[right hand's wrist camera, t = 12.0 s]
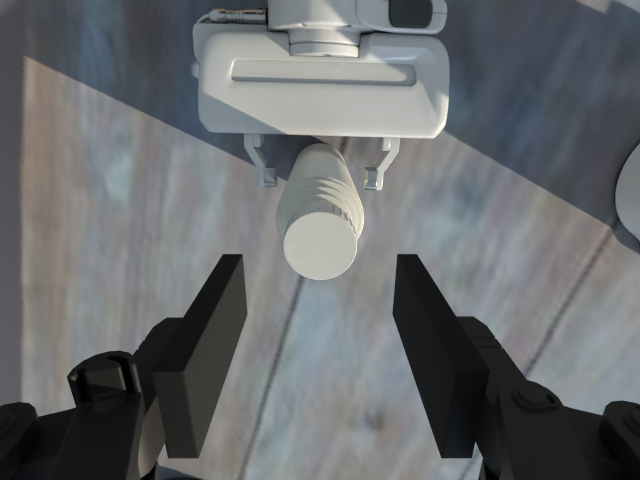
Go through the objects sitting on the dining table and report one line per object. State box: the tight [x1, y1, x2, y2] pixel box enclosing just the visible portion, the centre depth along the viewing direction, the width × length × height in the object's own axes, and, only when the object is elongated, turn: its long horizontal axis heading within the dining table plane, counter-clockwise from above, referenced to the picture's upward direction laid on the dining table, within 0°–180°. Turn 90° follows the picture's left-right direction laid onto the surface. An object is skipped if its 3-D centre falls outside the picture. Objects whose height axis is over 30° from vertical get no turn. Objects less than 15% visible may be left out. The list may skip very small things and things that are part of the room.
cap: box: [283, 201, 357, 280], centre depth 19 cm, size 4×4×2 cm
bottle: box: [276, 143, 364, 240], centre depth 29 cm, size 6×6×22 cm
